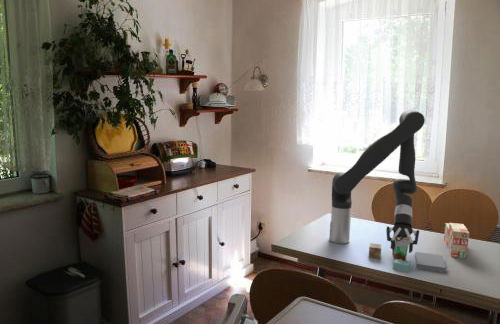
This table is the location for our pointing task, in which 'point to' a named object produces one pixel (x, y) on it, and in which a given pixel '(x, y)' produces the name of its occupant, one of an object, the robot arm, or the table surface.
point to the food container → (400, 248)
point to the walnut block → (375, 251)
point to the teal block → (401, 265)
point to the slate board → (430, 262)
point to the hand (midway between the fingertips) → (401, 250)
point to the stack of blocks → (456, 239)
